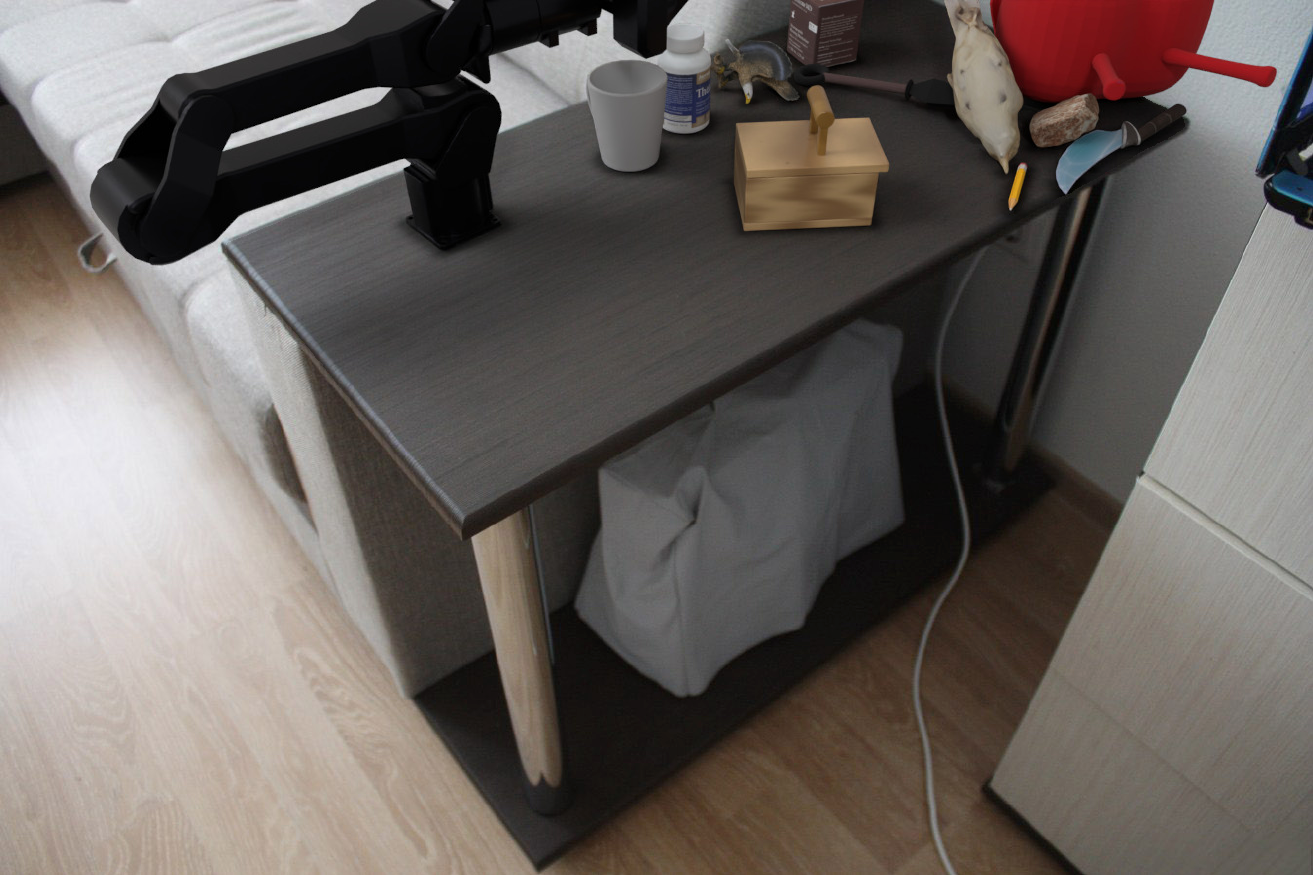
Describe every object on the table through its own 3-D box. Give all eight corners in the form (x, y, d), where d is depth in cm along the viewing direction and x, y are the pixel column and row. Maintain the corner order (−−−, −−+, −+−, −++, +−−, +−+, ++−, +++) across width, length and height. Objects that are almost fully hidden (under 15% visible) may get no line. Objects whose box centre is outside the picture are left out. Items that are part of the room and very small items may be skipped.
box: (785, 51, 120) (789, -13, 114) (829, 41, 121) (836, -22, 116) (812, 72, 116) (818, 6, 111) (857, 61, 117) (865, -4, 112)
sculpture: (911, -27, 106) (933, -5, 110) (966, 181, 99) (987, 197, 102) (967, -62, 102) (987, -38, 106) (1029, 151, 95) (1048, 169, 99)
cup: (624, 186, 98) (620, 103, 93) (563, 148, 104) (555, 67, 98) (684, 160, 102) (684, 78, 96) (621, 124, 108) (618, 44, 102)
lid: (868, 125, 95) (875, 73, 92) (888, 172, 89) (896, 118, 86) (735, 131, 95) (737, 79, 92) (746, 178, 89) (749, 125, 85)
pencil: (1017, 167, 100) (1023, 171, 100) (1004, 211, 94) (1010, 215, 94) (1022, 161, 99) (1028, 165, 99) (1009, 205, 93) (1016, 209, 93)
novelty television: (1131, -69, 114) (1324, 4, 91) (1100, 50, 122) (1271, 144, 99) (958, -59, 111) (1112, 19, 88) (938, 62, 119) (1075, 163, 95)
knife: (1022, 183, 99) (1068, 204, 96) (1026, 168, 97) (1073, 189, 95) (1139, 102, 108) (1184, 119, 106) (1144, 87, 107) (1189, 104, 105)
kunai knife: (1032, 135, 102) (1036, 105, 99) (787, 93, 115) (785, 65, 112) (1047, 115, 104) (1051, 85, 102) (804, 76, 117) (803, 48, 114)
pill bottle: (705, 137, 105) (706, 44, 98) (653, 133, 106) (652, 40, 99) (713, 113, 109) (715, 21, 102) (664, 109, 110) (663, 18, 103)
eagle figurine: (708, 102, 108) (793, 94, 106) (705, 31, 107) (791, 21, 104) (724, 111, 115) (804, 104, 113) (721, 45, 114) (802, 36, 112)
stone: (1068, 142, 107) (1035, 107, 107) (1115, 104, 103) (1081, 67, 102) (1053, 168, 102) (1019, 132, 102) (1102, 129, 98) (1066, 91, 98)
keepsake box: (853, 177, 99) (859, 126, 95) (871, 225, 93) (879, 173, 89) (733, 182, 99) (735, 131, 95) (743, 231, 93) (746, 179, 89)
